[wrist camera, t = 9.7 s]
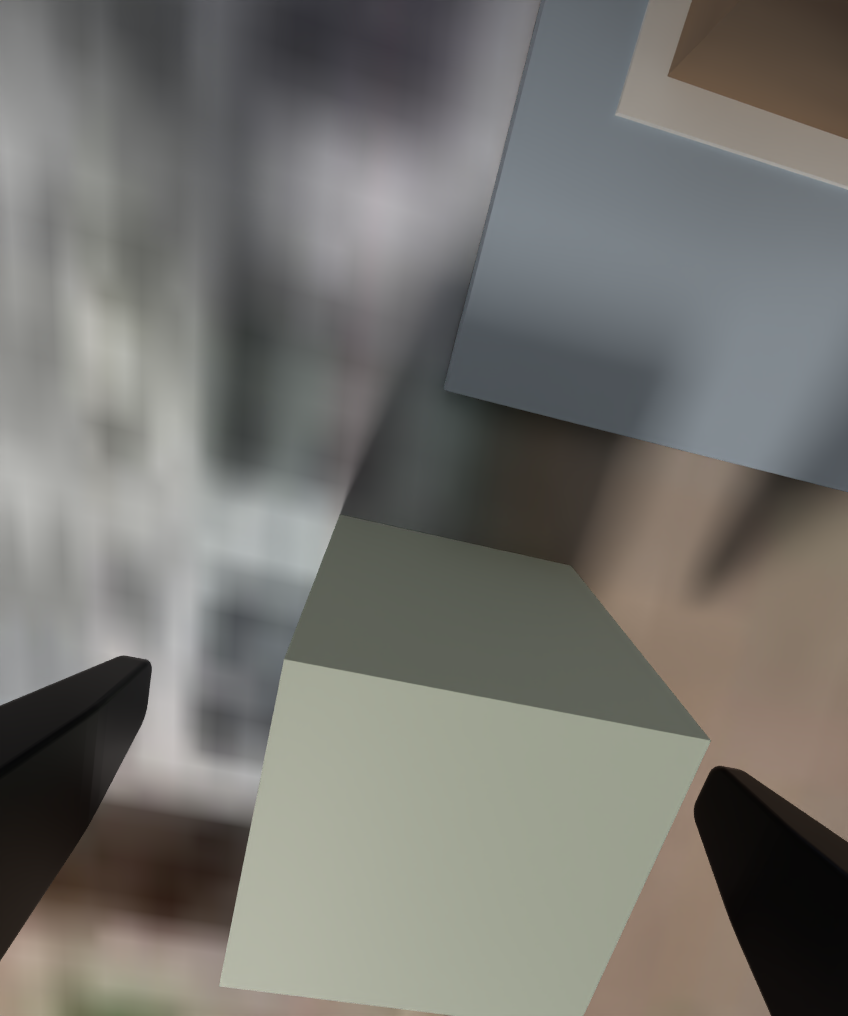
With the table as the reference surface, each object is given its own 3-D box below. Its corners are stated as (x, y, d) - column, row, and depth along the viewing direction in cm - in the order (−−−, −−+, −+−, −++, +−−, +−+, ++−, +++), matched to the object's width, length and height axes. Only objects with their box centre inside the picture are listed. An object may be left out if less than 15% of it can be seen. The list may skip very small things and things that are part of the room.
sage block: (569, 564, 11) (710, 740, 6) (504, 753, 12) (576, 1031, 7) (340, 513, 10) (284, 659, 5) (297, 716, 11) (219, 986, 6)
